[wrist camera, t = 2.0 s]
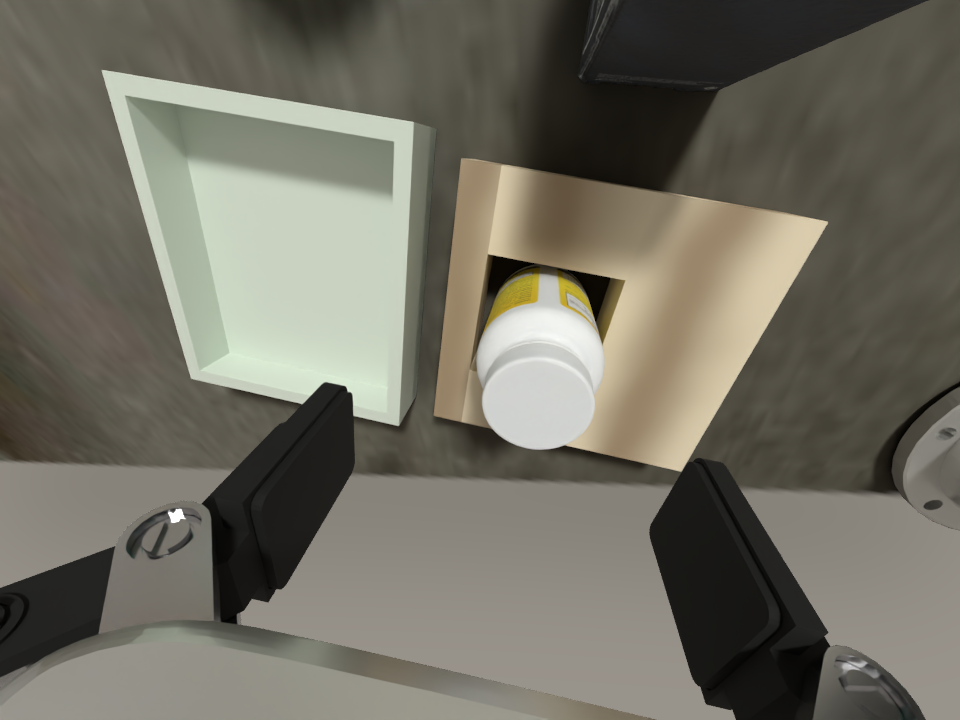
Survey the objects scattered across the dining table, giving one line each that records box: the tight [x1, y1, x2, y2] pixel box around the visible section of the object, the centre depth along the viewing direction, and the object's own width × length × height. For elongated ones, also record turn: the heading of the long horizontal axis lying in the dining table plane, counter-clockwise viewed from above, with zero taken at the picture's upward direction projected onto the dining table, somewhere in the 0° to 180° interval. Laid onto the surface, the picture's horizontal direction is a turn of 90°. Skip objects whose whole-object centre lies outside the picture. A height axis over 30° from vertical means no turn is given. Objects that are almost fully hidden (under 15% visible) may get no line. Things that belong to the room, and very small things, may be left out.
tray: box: [102, 70, 437, 426], centre depth 21 cm, size 14×16×4 cm
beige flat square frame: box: [434, 158, 828, 471], centre depth 20 cm, size 15×14×3 cm
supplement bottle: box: [476, 264, 605, 450], centre depth 17 cm, size 5×5×10 cm
